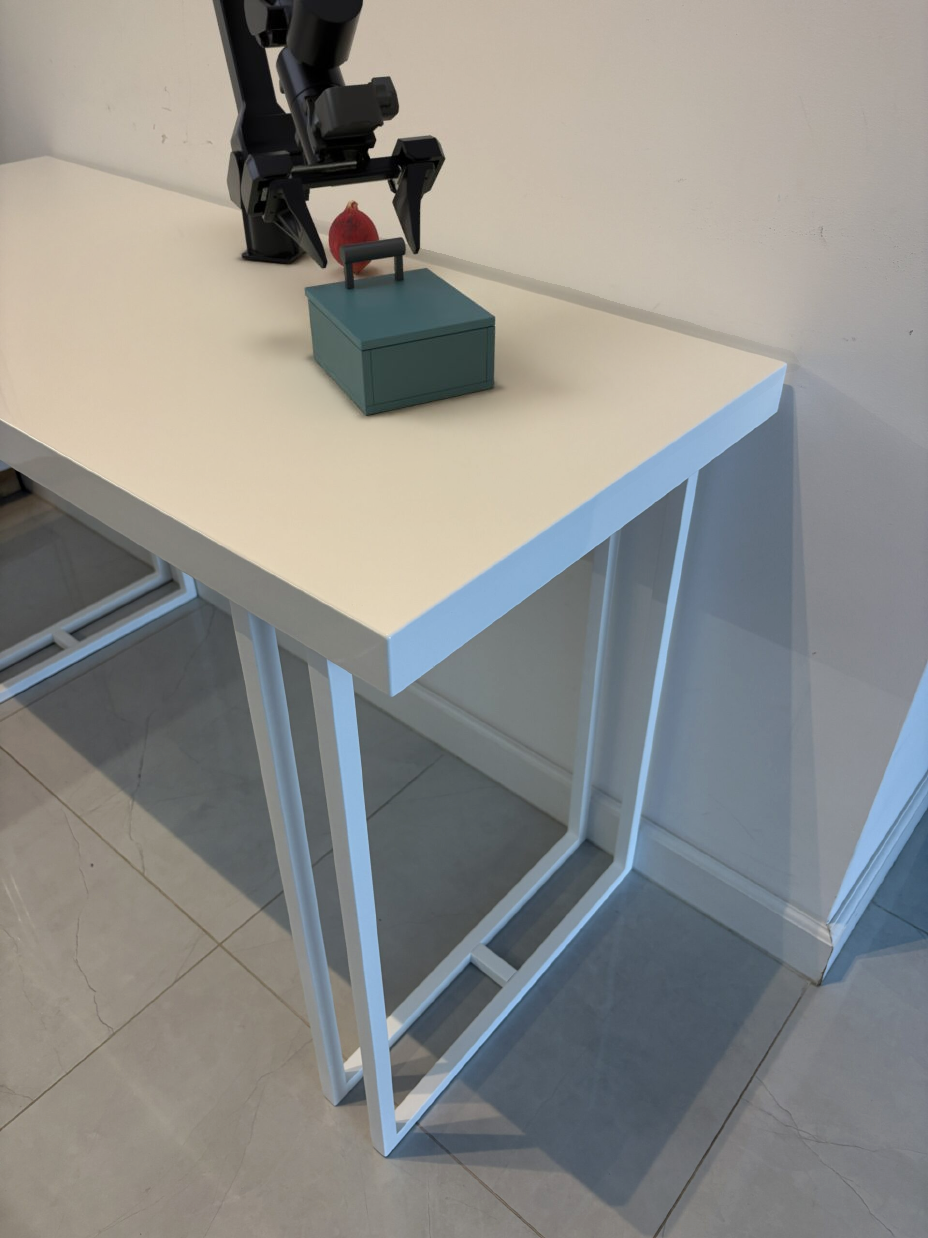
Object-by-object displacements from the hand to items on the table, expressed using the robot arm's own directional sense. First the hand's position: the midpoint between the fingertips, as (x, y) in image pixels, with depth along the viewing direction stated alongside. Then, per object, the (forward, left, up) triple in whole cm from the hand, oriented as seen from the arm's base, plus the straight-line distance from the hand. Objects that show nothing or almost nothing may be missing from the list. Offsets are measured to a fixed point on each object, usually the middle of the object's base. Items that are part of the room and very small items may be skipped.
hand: (371, 258), depth 87 cm
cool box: (+4, -4, -9) cm, 11 cm away
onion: (-10, +21, -9) cm, 25 cm away
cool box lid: (+4, -4, -3) cm, 6 cm away
